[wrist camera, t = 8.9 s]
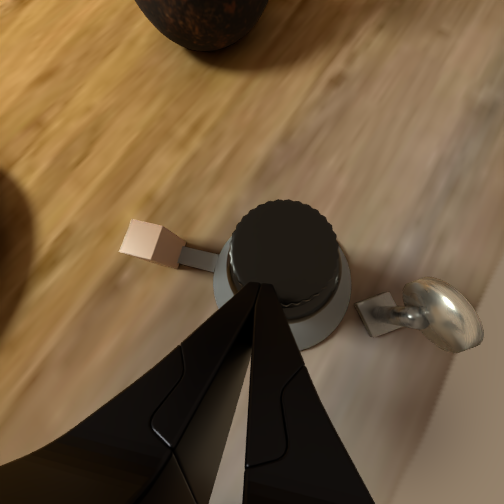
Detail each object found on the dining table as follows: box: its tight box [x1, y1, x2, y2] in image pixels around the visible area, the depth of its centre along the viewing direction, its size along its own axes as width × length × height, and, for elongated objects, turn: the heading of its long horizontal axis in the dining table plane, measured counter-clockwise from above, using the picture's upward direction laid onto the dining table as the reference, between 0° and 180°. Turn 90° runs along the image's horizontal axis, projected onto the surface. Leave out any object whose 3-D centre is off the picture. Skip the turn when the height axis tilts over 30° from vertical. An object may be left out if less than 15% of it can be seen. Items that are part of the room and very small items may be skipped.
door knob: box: [354, 277, 484, 353], centre depth 16 cm, size 4×3×9 cm
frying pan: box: [119, 219, 351, 351], centre depth 19 cm, size 16×18×5 cm
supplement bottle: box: [226, 199, 342, 324], centre depth 15 cm, size 7×7×12 cm
